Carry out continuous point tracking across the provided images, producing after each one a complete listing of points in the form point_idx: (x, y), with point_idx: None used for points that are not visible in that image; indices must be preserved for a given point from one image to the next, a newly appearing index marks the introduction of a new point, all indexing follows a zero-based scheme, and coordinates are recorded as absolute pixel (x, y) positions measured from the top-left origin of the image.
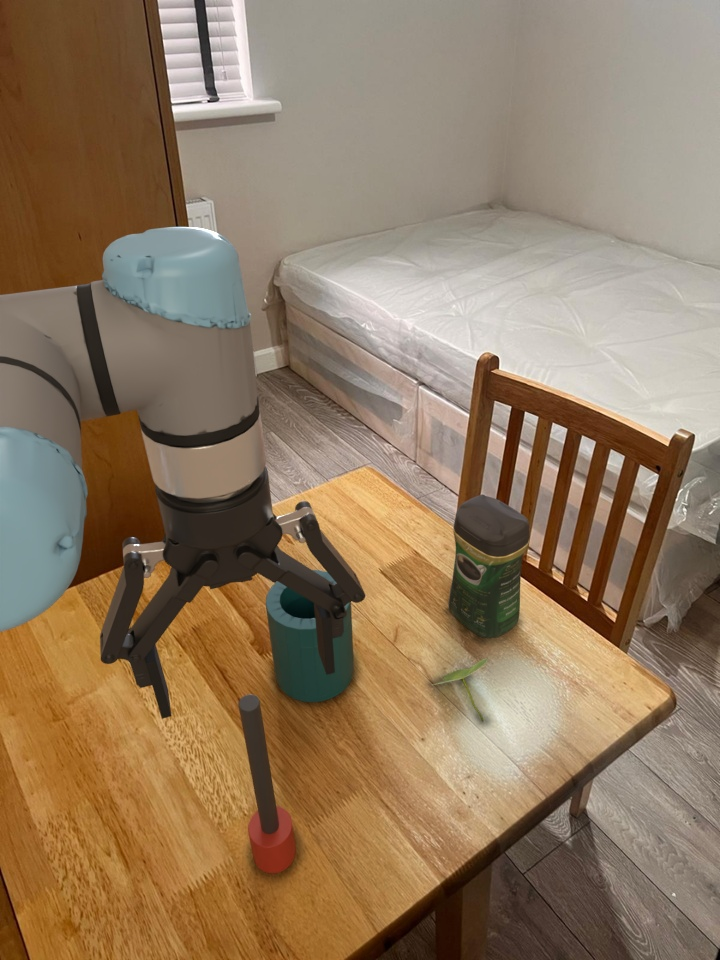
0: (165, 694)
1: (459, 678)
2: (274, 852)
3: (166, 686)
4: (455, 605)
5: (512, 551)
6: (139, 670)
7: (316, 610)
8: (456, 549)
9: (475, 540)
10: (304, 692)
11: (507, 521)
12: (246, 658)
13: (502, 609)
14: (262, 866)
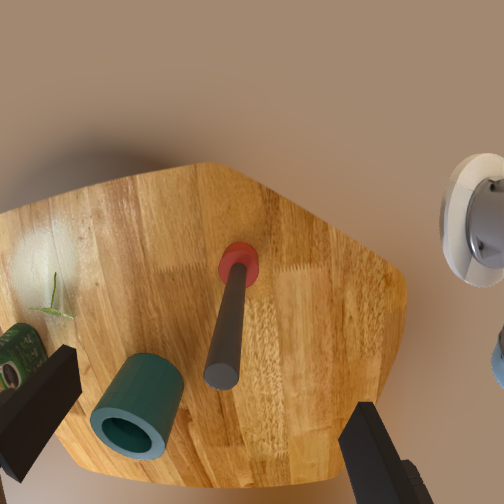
0: (375, 441)
1: (52, 309)
2: (243, 249)
3: (346, 448)
4: (40, 361)
5: None
6: (418, 493)
7: (21, 460)
8: None
9: None
10: (165, 367)
11: None
12: (199, 412)
13: (10, 336)
14: (254, 250)
